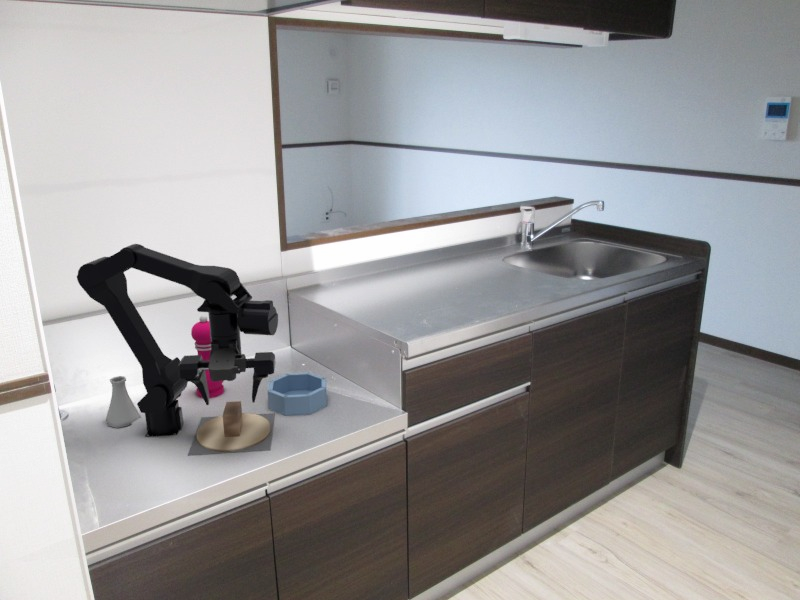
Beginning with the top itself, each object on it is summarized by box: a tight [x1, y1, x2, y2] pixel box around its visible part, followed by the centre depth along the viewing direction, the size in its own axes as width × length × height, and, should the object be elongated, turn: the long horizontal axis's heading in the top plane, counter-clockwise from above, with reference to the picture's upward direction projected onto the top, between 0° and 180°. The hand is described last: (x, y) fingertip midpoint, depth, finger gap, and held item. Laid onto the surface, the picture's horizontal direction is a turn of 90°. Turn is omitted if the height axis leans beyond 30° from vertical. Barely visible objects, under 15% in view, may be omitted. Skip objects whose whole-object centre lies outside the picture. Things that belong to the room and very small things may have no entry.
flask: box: [105, 375, 142, 429], centre depth 139 cm, size 7×7×10 cm
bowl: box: [267, 372, 328, 417], centre depth 147 cm, size 13×13×5 cm
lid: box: [196, 400, 270, 452], centre depth 133 cm, size 15×15×6 cm
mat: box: [187, 412, 276, 457], centre depth 134 cm, size 16×16×1 cm
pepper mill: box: [190, 314, 225, 399], centre depth 150 cm, size 7×7×20 cm
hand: (230, 403), depth 131 cm, fingers open, 9 cm apart
